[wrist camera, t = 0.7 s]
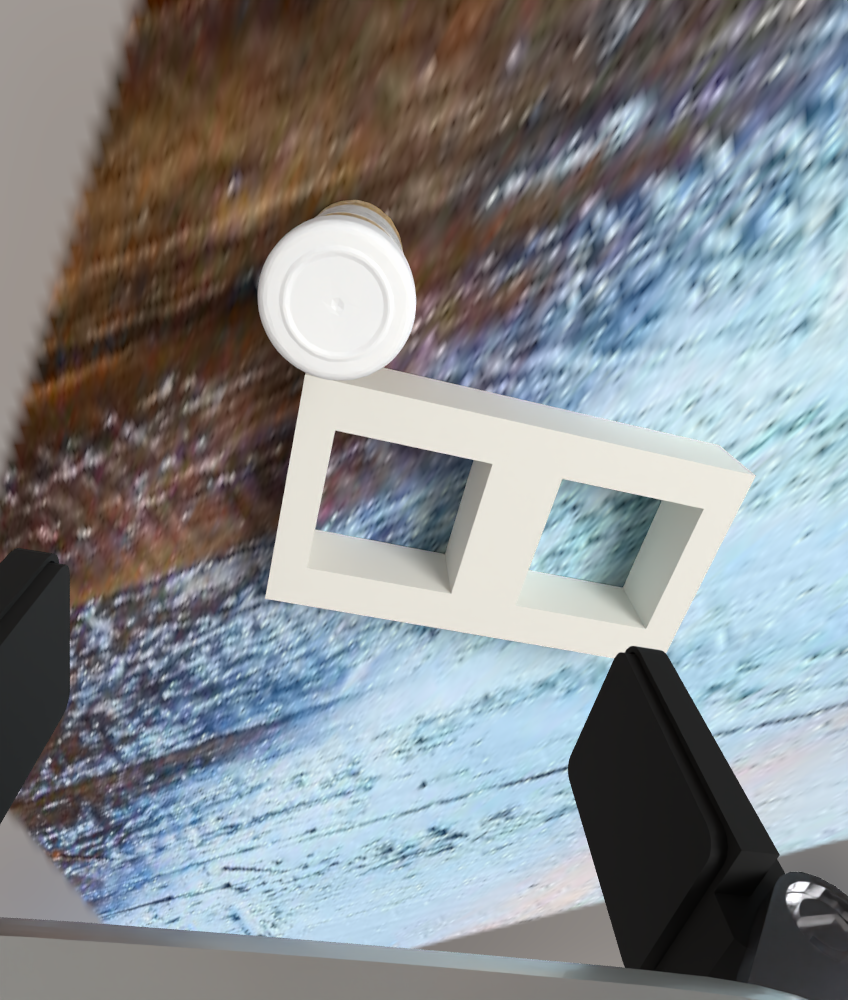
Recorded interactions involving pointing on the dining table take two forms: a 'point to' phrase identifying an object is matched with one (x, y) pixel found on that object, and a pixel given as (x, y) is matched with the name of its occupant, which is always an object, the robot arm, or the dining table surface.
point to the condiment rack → (504, 516)
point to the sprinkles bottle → (338, 293)
